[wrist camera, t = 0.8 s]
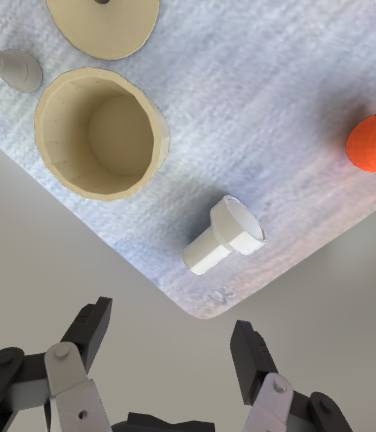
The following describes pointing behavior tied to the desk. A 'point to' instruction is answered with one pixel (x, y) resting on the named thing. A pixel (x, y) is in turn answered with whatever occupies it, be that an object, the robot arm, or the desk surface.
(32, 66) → the rook chess piece
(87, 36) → the cream disc with rod
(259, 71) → the desk surface
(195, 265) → the spotlight
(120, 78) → the tin
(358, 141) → the clementine
